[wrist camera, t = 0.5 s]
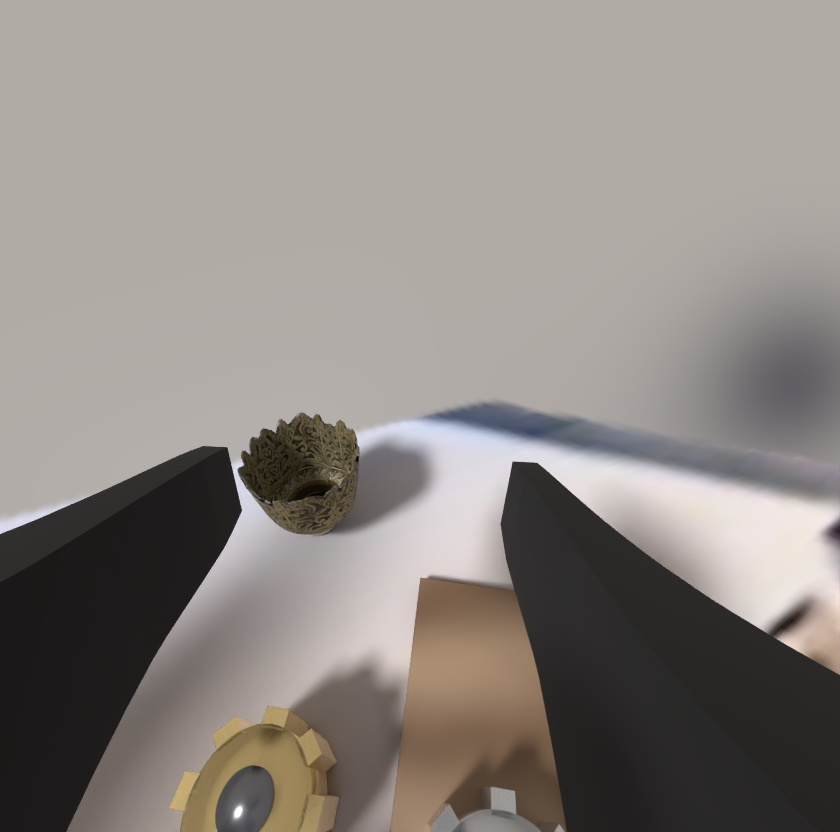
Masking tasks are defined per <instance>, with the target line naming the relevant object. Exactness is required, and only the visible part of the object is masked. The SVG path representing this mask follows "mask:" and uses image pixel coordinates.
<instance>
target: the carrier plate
mask: <svg viewBox="0 0 840 832" xmlns="http://www.w3.org/2000/svg"><path fill="white" fill-rule="evenodd" d="M485 787H495V788H501V789H507V790H512V791H515V800H516V814H517V815H519V816H521V817H523V818H525V819H526V820H528V821H529V822H531V823H532V824H534V825H535V826H536V825H537V823H538V822H539V821H545V822H551V823H557V824H560V826H561V827H562V829H563V830H564V832H567V830H566V824H565V818H564V812H563V805H562V799H561V793H560V788H559V782H558V776H557V771H556V765H555V760H554V754H553V749H552V743H551V737H550V732H549V727H548V722H547V716H546V711H545V706H544V701H543V696H542V691H541V686H540V680H539V676H538V672H537V668H536V664H535V660H534V656H533V652H532V649H531V645H530V642H529V638H528V635H527V631H526V628H525V624H524V621H523V617H522V614H521V610H520V607H519V603H518V600H517V596H516V593H515V591H512V590H505V589H498V588H490V587H483V586H476V585H469V584H462V583H454V582H447V581H440V580H433V579H426V578H420V586H419V594H418V602H417V611H416V619H415V627H414V636H413V644H412V653H411V661H410V669H409V678H408V686H407V694H406V703H405V711H404V720H403V728H402V736H401V745H400V753H399V761H398V770H397V778H396V786H395V795H394V803H393V812H392V820H391V828H390V832H431V831H430V829H429V827H428V825H427V823H428V822H429V820H430V819H431V818H432V817H433V816H434V814H435V813H436V812H437V811H438V810H439V808H440V807H441V806H442V805H443V803H445V804H450V806H451V808H452V809H453V811H454V813H455V815H456V816H459V815H461V814H462V813H464V812H466V811H469V810H472V809H478V808H480V788H485Z"/></svg>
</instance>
